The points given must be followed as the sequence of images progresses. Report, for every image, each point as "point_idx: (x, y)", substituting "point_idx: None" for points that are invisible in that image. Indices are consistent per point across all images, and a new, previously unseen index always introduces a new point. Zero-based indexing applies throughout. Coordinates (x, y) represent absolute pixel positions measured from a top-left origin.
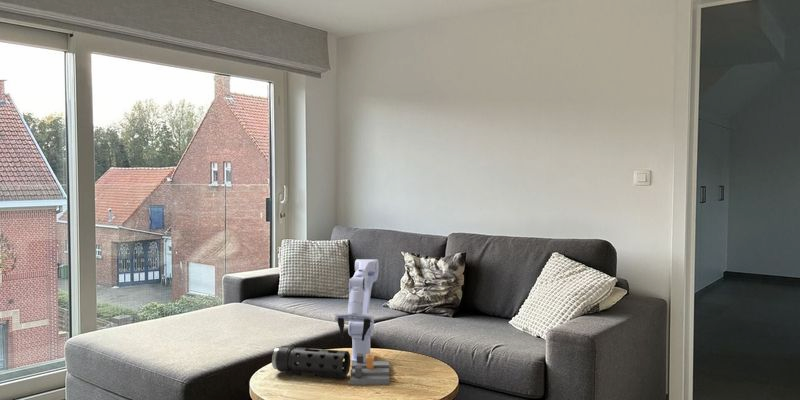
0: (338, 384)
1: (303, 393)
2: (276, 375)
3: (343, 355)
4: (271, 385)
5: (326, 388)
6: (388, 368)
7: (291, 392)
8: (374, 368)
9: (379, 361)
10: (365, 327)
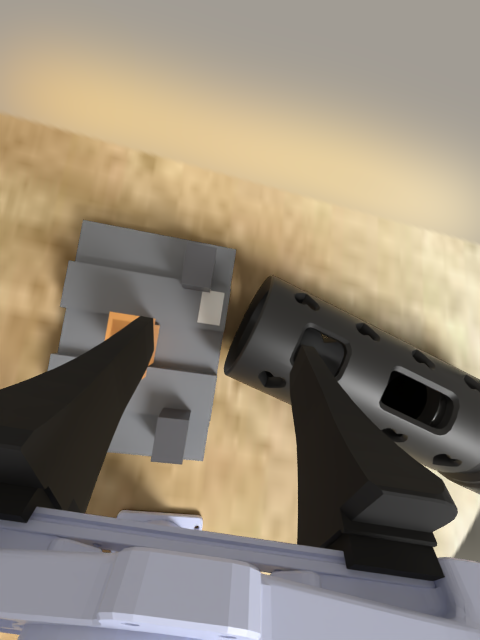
0: (271, 270)
1: (379, 217)
2: None
3: (272, 292)
4: (468, 308)
5: (311, 242)
6: (62, 343)
7: (412, 234)
8: None
9: None
10: (74, 367)
